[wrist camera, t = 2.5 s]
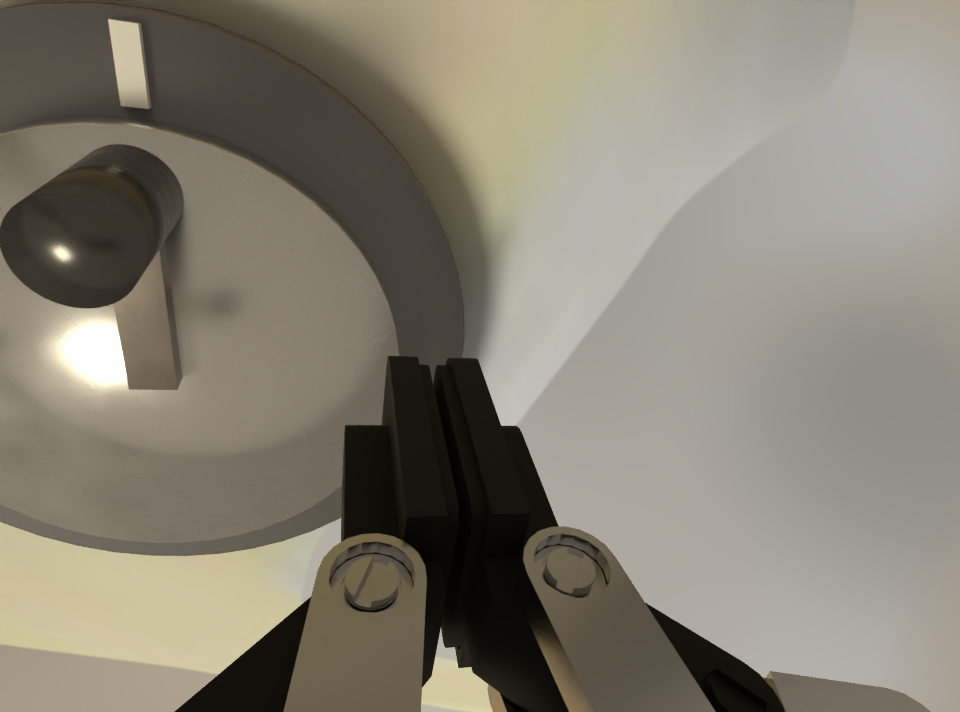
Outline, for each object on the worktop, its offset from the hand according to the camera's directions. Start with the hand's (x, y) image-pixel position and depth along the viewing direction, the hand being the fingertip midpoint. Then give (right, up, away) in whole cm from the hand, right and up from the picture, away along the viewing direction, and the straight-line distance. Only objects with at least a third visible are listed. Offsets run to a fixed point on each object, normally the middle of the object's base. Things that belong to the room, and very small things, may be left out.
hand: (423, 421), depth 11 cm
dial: (-11, +1, +12) cm, 17 cm away
